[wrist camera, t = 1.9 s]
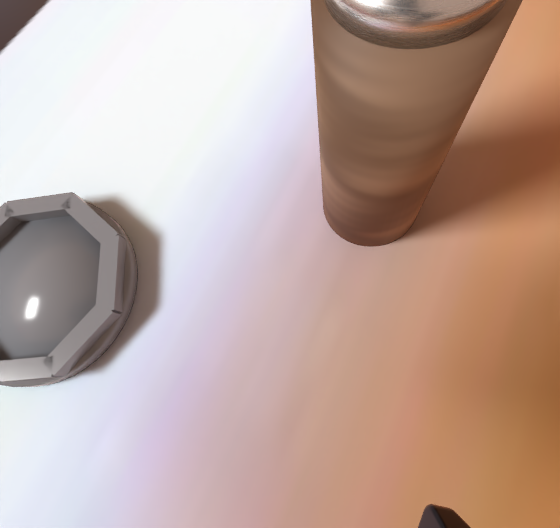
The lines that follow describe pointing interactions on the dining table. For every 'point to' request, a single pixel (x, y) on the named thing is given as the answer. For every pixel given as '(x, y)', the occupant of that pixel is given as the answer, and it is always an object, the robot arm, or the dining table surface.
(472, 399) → the dining table surface
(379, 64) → the brown metal-capped cylinder
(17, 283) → the slate saucer
